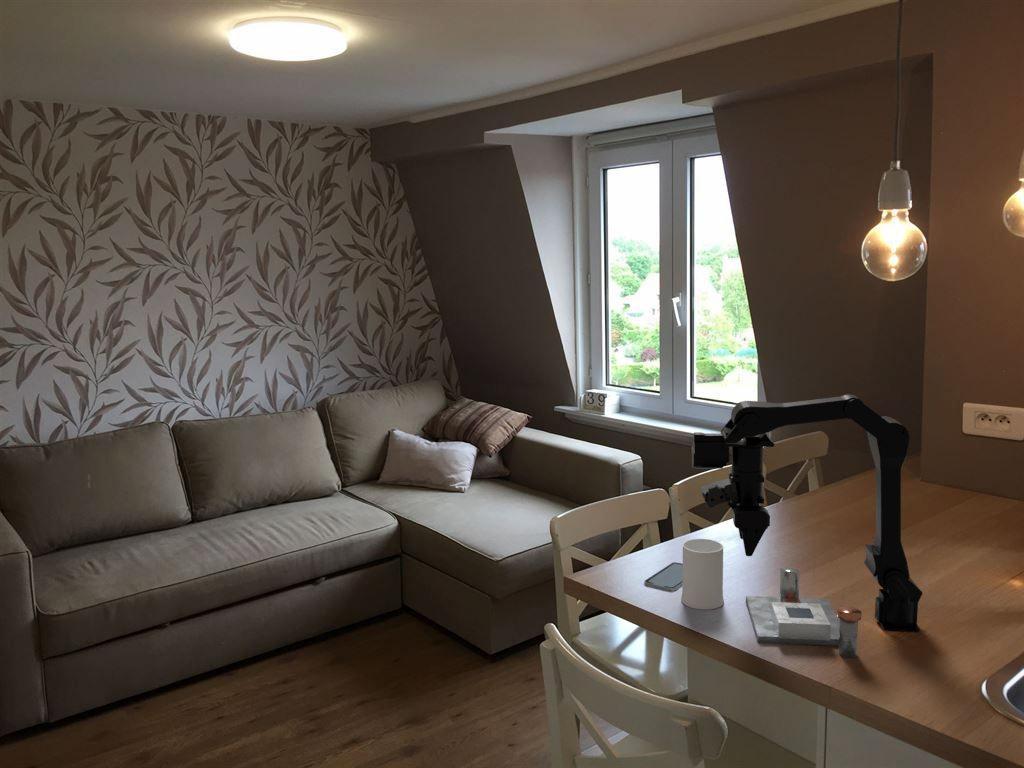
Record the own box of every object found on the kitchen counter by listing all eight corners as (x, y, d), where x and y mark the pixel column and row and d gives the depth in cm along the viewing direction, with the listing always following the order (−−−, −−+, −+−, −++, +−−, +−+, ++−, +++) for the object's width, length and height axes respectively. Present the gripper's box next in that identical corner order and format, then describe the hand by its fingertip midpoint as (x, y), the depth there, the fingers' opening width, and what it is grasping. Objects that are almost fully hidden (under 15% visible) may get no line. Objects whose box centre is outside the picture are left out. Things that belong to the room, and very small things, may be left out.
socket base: (827, 604, 170) (828, 565, 169) (850, 647, 152) (851, 604, 151) (745, 601, 173) (746, 563, 171) (758, 643, 155) (759, 601, 153)
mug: (696, 584, 182) (696, 531, 180) (734, 592, 177) (735, 537, 175) (674, 604, 172) (674, 548, 170) (715, 613, 168) (715, 555, 166)
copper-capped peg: (856, 648, 152) (858, 606, 150) (862, 659, 148) (864, 616, 146) (833, 648, 152) (834, 606, 151) (838, 658, 148) (840, 615, 147)
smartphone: (703, 568, 190) (673, 589, 178) (703, 572, 190) (673, 593, 178) (673, 561, 194) (642, 581, 183) (673, 565, 195) (642, 585, 183)
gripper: (700, 455, 170) (700, 530, 173) (707, 481, 152) (706, 564, 155) (757, 456, 169) (756, 531, 171) (771, 482, 150) (769, 565, 153)
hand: (745, 547), depth 163 cm, fingers open, 9 cm apart
